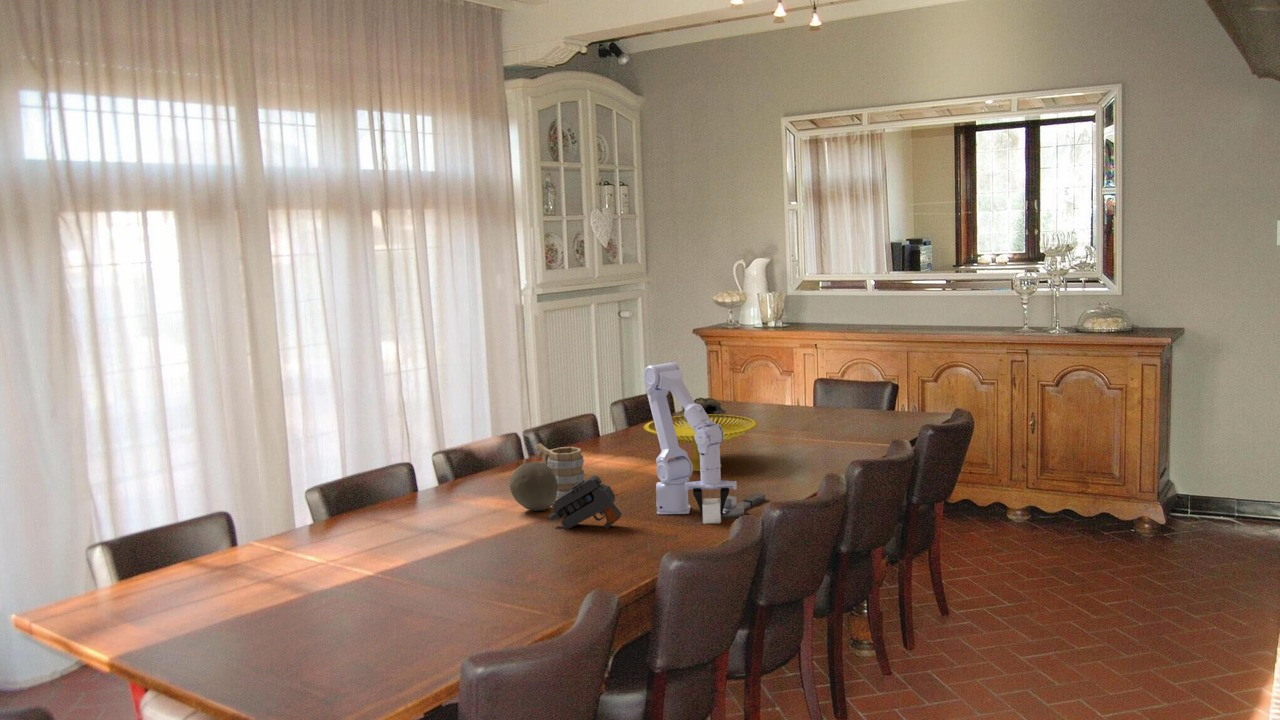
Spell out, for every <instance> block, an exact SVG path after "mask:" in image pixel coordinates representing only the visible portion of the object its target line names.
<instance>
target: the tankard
mask: <svg viewBox="0 0 1280 720" xmlns="http://www.w3.org/2000/svg"><path fill="white" fill-rule="evenodd" d="M534 449H535V452H541V462H540V463H543V464H545V465H547V466H548V467H549V468H550V469H551V470H552V471H553V473H554V475H555V477H556V480H557V483H558V490H557V496H556V498H557V499H558V498H559V497H560V496H562V495H563V494H565V493H566V492H568V491H570V490H571V489H572V488H573V487H574V486H575V485H576V484H578V483H580V482H581V481H583V480H584V481H585V476H586V474H585V470H584V469H583V466H584V462H585V459H584V455H583V454H582V448H580V447H574V446H564V447H562V446H561V447H557V448H556V447H555V448H553V449H552V448H551V449H549V448H547V447H546V446H544V445H543V444H542V443H541V442H540V443H538V444H536V445H535V446H534Z"/></svg>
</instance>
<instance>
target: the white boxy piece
mask: <svg viewBox="0 0 1280 720" xmlns="http://www.w3.org/2000/svg"><path fill="white" fill-rule="evenodd" d="M702 509H703V515H702V524H721V523H722V517H721V512H720V510H721V497H706V498H705V497H702Z"/></svg>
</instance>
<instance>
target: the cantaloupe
mask: <svg viewBox="0 0 1280 720" xmlns="http://www.w3.org/2000/svg"><path fill="white" fill-rule="evenodd" d="M557 490H558V483H557V480H556V477H555V475H554V473H553V471H552V470H551V469H550V468H549V467H548V465H545V464H543V463H541V462H540V461H533V462H527V463H526V462H525V463H522V464H521V465H519V466H518V467H516V469H515V470H514V471H513V473H512V474H511V476H510V479H509V491H510V493H511V494H512V496H513V499H514V500H515V502H517V503H518V505H520V506H522V507H523V508H525V509H527V510H529V511H532V512H533V511H534V512H541V511H545V510H547V509H549V508H550V507H552V504H553V503H554V502H555V501H556V500H557V497H556V496H557Z"/></svg>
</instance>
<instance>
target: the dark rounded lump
mask: <svg viewBox="0 0 1280 720" xmlns="http://www.w3.org/2000/svg"><path fill="white" fill-rule="evenodd" d="M693 401H694V402H695V403H696V404H700V405H701V406H702V407H703V408H704V410H705V412H706V414H707V415H708V414H712V415H714V414H715V415H714V417H713V420H712V421H713V422H714V420H715V416H716V415H719V417H718V419H717V421H716V424H717V423H718V421H719V419H720V416H721V415H727V411H726V410H725V409H723V408H722V404H721V403H720V402H719V401H718V400H716V399H714V398H712V397H710V398H708V397H707V398H703V397H697V398H696V399H693ZM684 412H685V409H684V408H683V406H682V405H681V411H680V416H683V417H684V420H685V422H686V424H687V426H688V427H689V424H688V422H687V420H686V418H685V416H684ZM720 414H721V415H720ZM710 417H711V415H709V418H710ZM679 419H680V421H681V423H682V424H683V426H684V427H685V425H684V423H683V421H682V419H681V418H680V417H679ZM722 421H723V419H722V420H721V422H722ZM678 424H679V426H681V425H680V423H679V422H678ZM681 427H682V426H681Z"/></svg>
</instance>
